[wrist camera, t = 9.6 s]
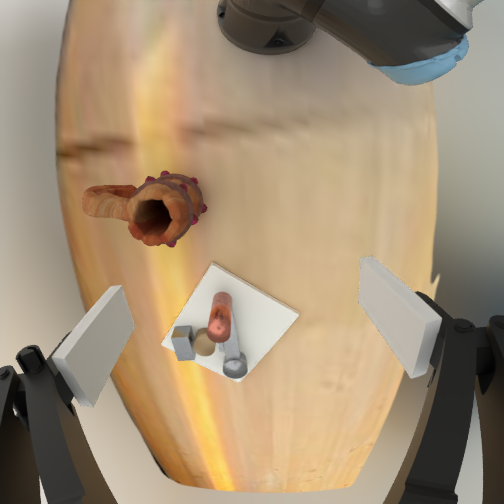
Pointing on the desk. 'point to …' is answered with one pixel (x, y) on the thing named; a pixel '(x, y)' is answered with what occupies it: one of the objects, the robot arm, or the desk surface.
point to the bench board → (235, 317)
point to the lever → (226, 335)
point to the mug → (150, 207)
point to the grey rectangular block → (183, 342)
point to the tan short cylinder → (203, 343)
